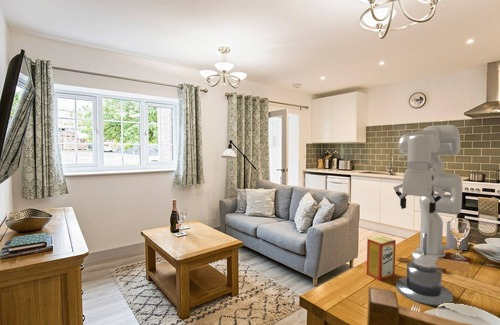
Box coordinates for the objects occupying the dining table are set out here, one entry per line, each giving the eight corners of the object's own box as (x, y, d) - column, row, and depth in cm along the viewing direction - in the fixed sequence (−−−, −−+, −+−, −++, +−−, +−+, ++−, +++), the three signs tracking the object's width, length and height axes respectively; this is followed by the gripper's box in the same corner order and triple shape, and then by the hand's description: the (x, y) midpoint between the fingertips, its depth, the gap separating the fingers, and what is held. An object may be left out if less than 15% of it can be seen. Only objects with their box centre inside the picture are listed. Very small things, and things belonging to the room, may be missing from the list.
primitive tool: (396, 261, 128) (396, 254, 128) (399, 258, 132) (400, 251, 132) (444, 274, 115) (445, 267, 115) (446, 271, 119) (447, 263, 119)
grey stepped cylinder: (426, 279, 110) (427, 257, 109) (466, 304, 92) (467, 278, 91) (386, 281, 108) (386, 259, 107) (418, 308, 90) (419, 280, 89)
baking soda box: (379, 280, 109) (380, 242, 108) (366, 274, 114) (367, 238, 114) (394, 275, 113) (395, 239, 112) (380, 269, 119) (381, 235, 118)
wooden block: (413, 269, 97) (414, 235, 97) (410, 261, 105) (411, 229, 104) (472, 279, 90) (474, 242, 89) (464, 269, 97) (466, 235, 97)
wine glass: (457, 244, 151) (458, 218, 150) (473, 250, 141) (473, 223, 141) (441, 244, 151) (442, 219, 150) (455, 251, 141) (456, 223, 140)
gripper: (448, 167, 97) (446, 213, 98) (398, 165, 110) (397, 205, 111) (442, 168, 92) (440, 216, 93) (390, 166, 106) (389, 208, 106)
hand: (417, 210), depth 102 cm, fingers open, 9 cm apart
